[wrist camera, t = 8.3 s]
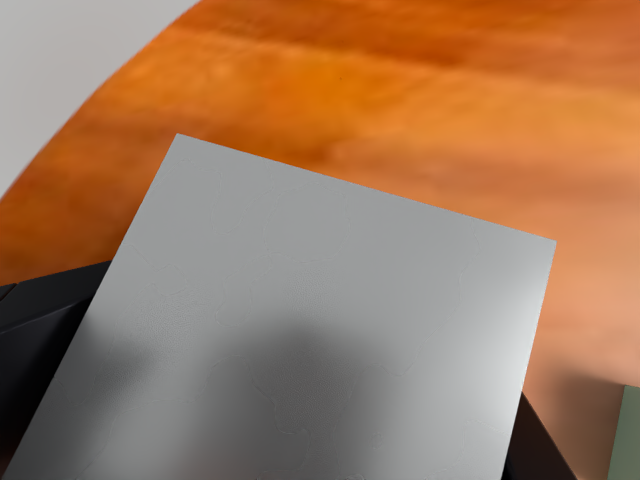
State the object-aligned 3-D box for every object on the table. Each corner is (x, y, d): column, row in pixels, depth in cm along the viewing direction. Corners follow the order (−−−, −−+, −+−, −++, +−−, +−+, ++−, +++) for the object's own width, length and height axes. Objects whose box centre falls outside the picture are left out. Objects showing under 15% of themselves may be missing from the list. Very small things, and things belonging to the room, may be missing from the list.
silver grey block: (387, 468, 13) (424, 806, 4) (238, 398, 15) (-14, 509, 5) (436, 305, 14) (556, 241, 5) (295, 256, 16) (177, 133, 6)
